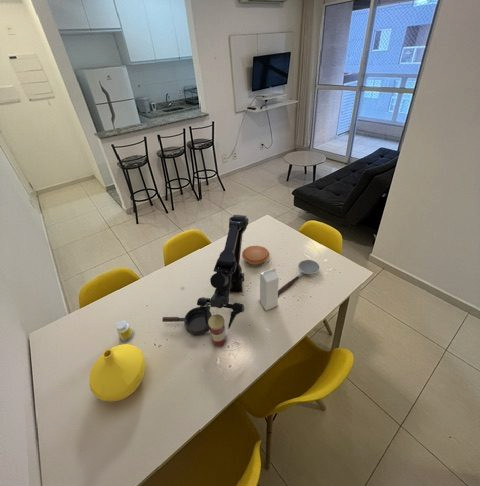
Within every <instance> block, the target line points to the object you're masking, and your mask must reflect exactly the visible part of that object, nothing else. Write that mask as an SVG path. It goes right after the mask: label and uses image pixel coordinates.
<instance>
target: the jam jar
mask: <svg viewBox="0 0 480 486" xmlns="http://www.w3.org/2000/svg"><path fill="white" fill-rule="evenodd" d="M208 324H209V328H210V330H209V332H210V338H211V343H212V345H213V346H215V347H222V346H224V345H225V344H226V343H227V333H226V326H225V318H224V316H223V315H221V314H218V313H217V314H212V316H211V317H210V318H209V320H208Z"/></svg>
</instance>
